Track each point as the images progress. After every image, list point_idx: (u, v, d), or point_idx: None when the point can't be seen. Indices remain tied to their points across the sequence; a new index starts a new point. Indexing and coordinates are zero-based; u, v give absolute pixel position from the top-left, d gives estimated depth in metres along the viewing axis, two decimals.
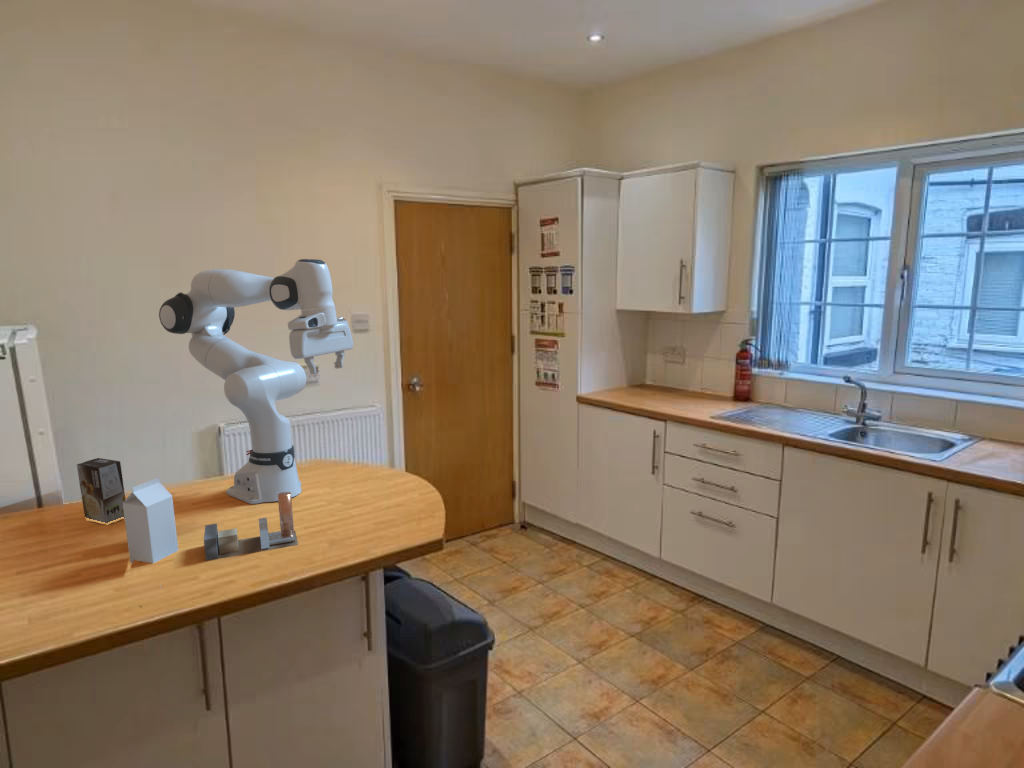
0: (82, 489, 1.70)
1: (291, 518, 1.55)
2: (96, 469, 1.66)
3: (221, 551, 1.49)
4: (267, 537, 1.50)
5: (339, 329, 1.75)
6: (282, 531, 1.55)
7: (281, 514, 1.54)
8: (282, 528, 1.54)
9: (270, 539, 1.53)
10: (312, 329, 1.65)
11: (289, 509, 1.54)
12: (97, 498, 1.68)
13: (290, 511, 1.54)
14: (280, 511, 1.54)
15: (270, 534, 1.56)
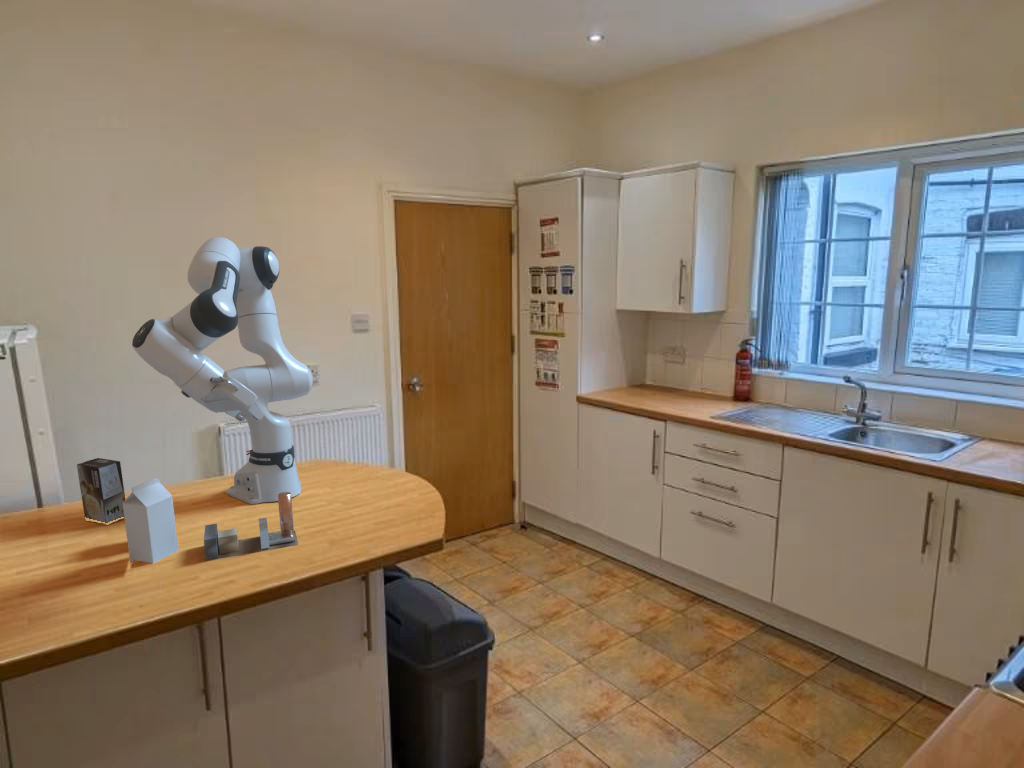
0: (82, 489, 1.70)
1: (291, 518, 1.55)
2: (96, 469, 1.66)
3: (221, 551, 1.49)
4: (267, 537, 1.50)
5: (218, 394, 1.39)
6: (282, 531, 1.55)
7: (281, 514, 1.54)
8: (282, 528, 1.54)
9: (270, 539, 1.53)
10: None
11: (289, 509, 1.54)
12: (97, 498, 1.68)
13: (290, 511, 1.54)
14: (280, 511, 1.54)
15: (270, 534, 1.56)
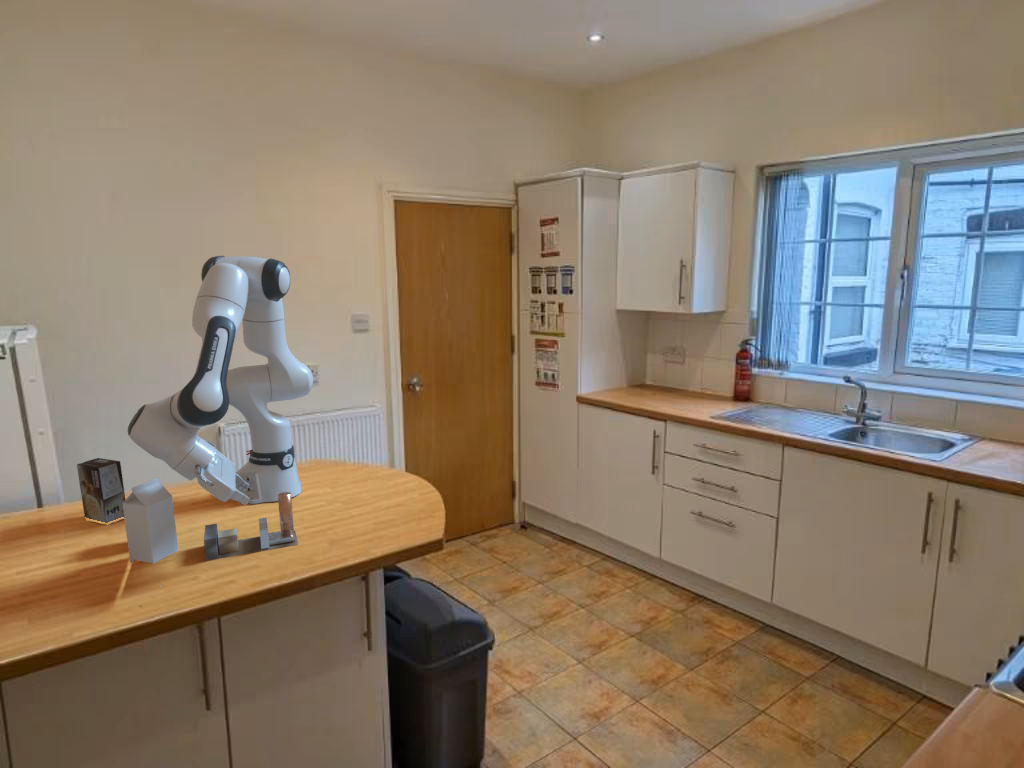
0: (82, 489, 1.70)
1: (291, 518, 1.55)
2: (96, 469, 1.66)
3: (221, 551, 1.49)
4: (267, 537, 1.50)
5: None
6: (282, 531, 1.55)
7: (281, 514, 1.54)
8: (282, 528, 1.54)
9: (270, 539, 1.53)
10: None
11: (289, 509, 1.54)
12: (97, 498, 1.68)
13: (290, 511, 1.54)
14: (280, 511, 1.54)
15: (270, 534, 1.56)
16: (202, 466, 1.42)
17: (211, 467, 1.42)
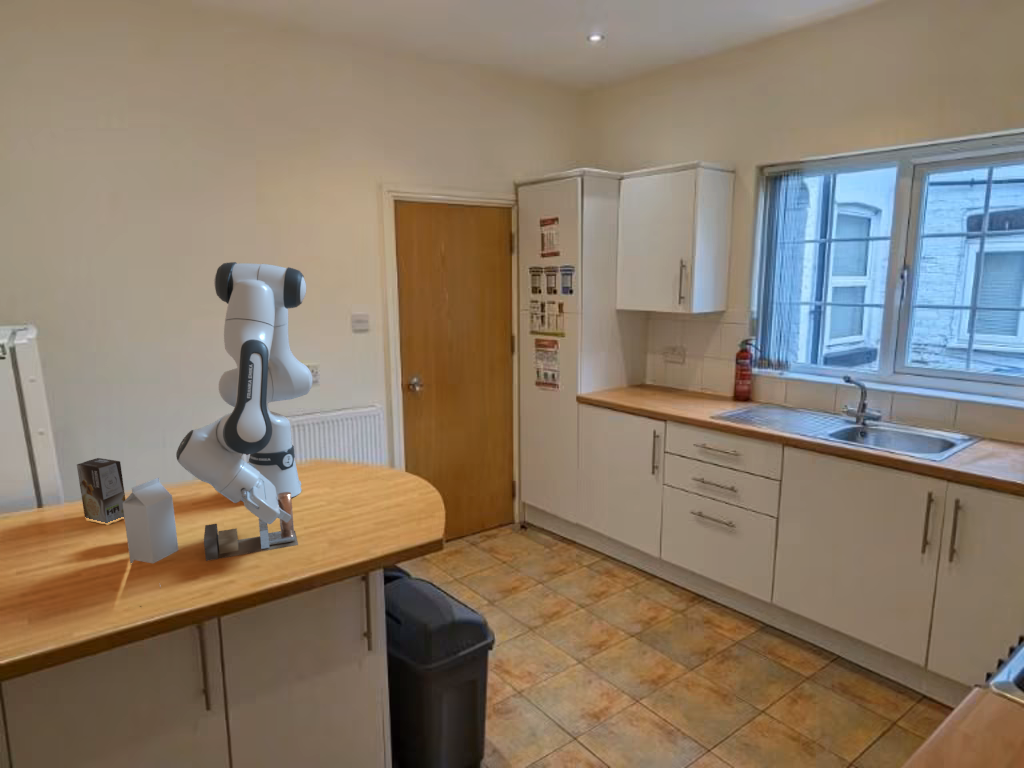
0: (82, 489, 1.70)
1: (291, 518, 1.55)
2: (96, 469, 1.66)
3: (221, 551, 1.49)
4: (267, 537, 1.50)
5: None
6: (282, 531, 1.55)
7: None
8: (282, 528, 1.54)
9: (270, 539, 1.53)
10: None
11: (289, 509, 1.54)
12: (97, 498, 1.68)
13: (290, 511, 1.54)
14: None
15: (270, 534, 1.56)
16: (247, 489, 1.46)
17: (256, 490, 1.46)
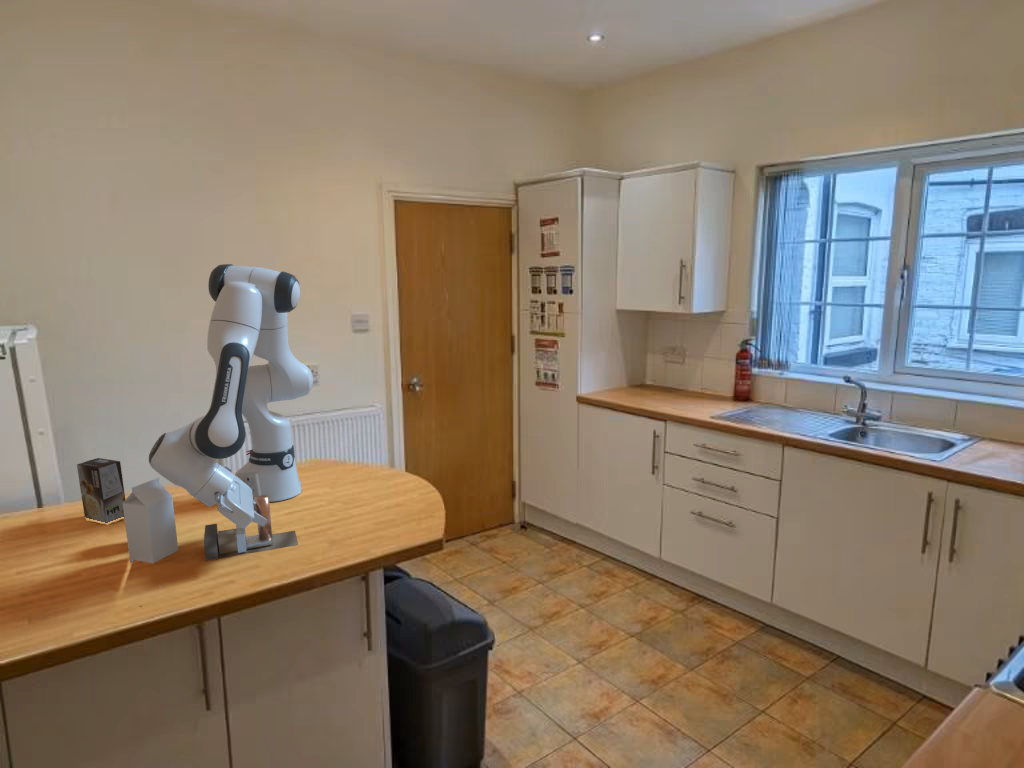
0: (82, 489, 1.70)
1: (269, 521, 1.53)
2: (96, 469, 1.66)
3: (221, 551, 1.49)
4: (244, 541, 1.48)
5: None
6: (259, 535, 1.53)
7: None
8: (260, 532, 1.52)
9: (247, 543, 1.51)
10: None
11: (267, 513, 1.52)
12: (97, 498, 1.68)
13: (268, 514, 1.52)
14: None
15: (248, 538, 1.54)
16: (221, 493, 1.44)
17: (230, 494, 1.44)
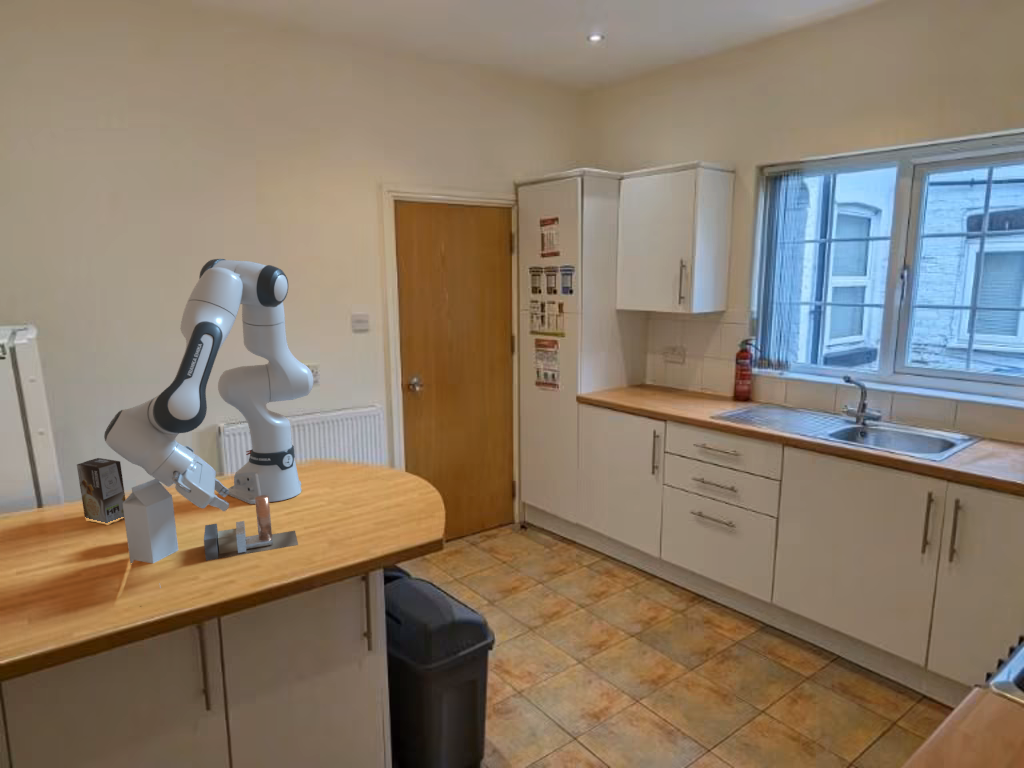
0: (82, 489, 1.70)
1: (269, 521, 1.53)
2: (96, 469, 1.66)
3: (221, 551, 1.49)
4: (244, 541, 1.48)
5: None
6: (259, 535, 1.53)
7: (258, 517, 1.52)
8: (260, 532, 1.52)
9: (247, 543, 1.51)
10: None
11: (266, 513, 1.52)
12: (97, 498, 1.68)
13: (268, 514, 1.52)
14: (257, 514, 1.52)
15: (247, 538, 1.54)
16: (180, 472, 1.40)
17: (189, 473, 1.40)
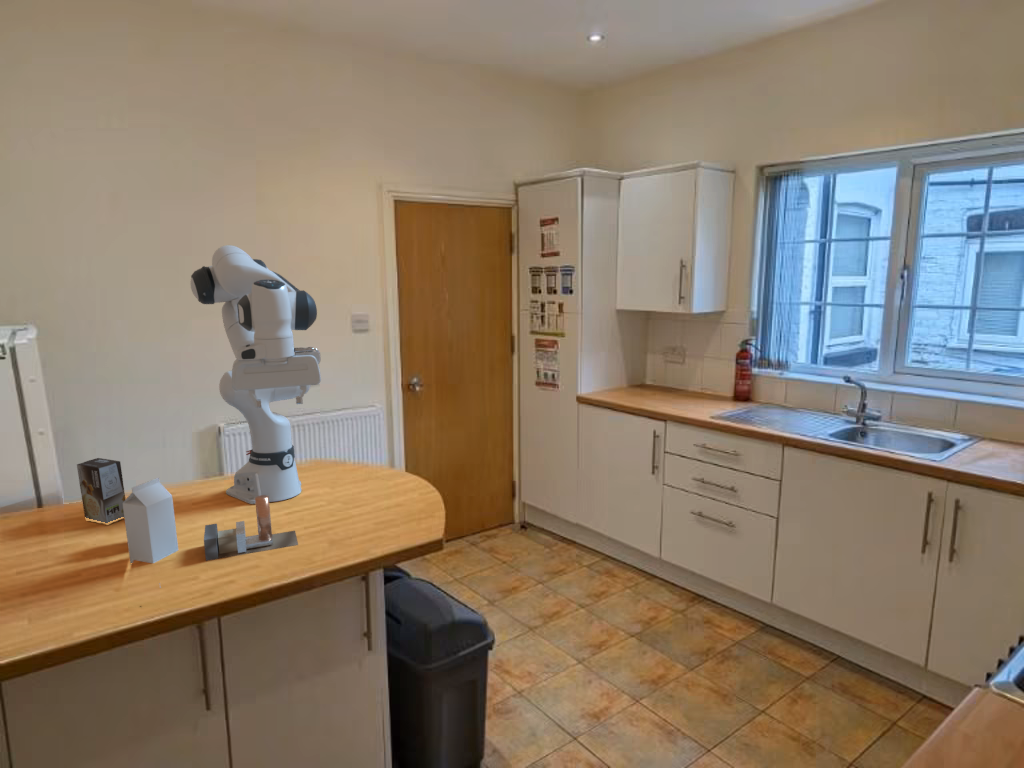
0: (82, 489, 1.70)
1: (269, 521, 1.53)
2: (96, 469, 1.66)
3: (221, 551, 1.49)
4: (244, 541, 1.48)
5: (297, 361, 1.54)
6: (259, 535, 1.53)
7: (258, 517, 1.52)
8: (260, 532, 1.52)
9: (247, 543, 1.51)
10: (249, 361, 1.49)
11: (266, 513, 1.52)
12: (97, 498, 1.68)
13: (268, 514, 1.52)
14: (257, 514, 1.52)
15: (247, 538, 1.54)
16: None
17: None
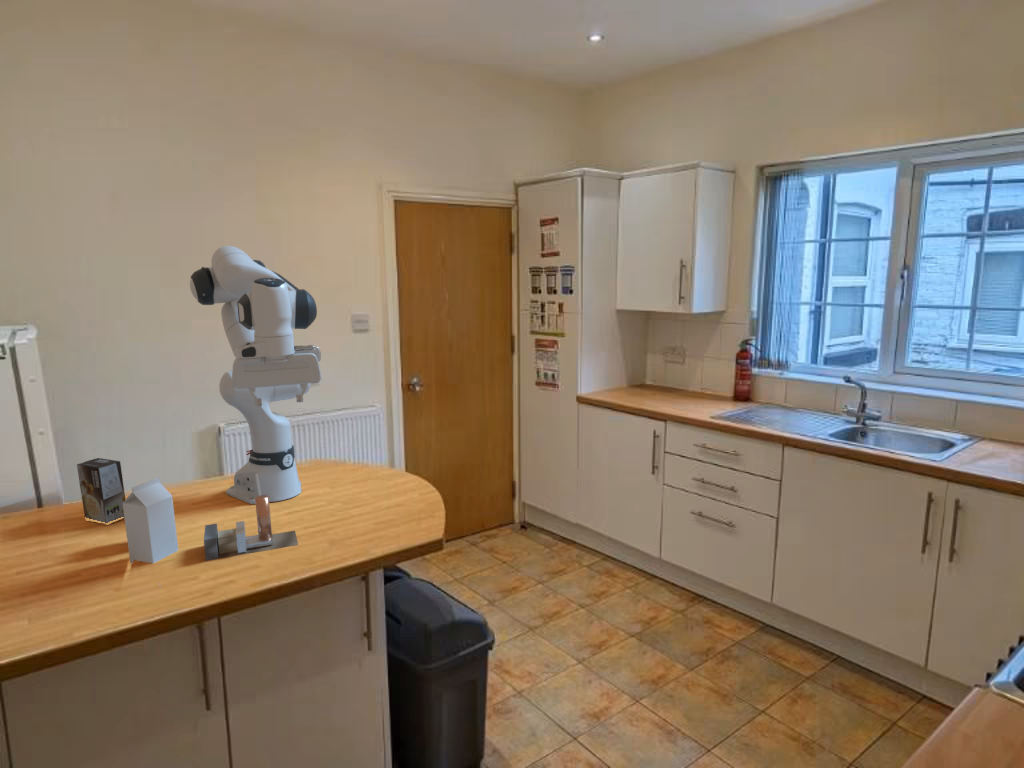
0: (82, 489, 1.70)
1: (269, 521, 1.53)
2: (96, 469, 1.66)
3: (221, 551, 1.49)
4: (244, 541, 1.48)
5: (298, 359, 1.54)
6: (259, 535, 1.53)
7: (258, 517, 1.52)
8: (260, 532, 1.52)
9: (247, 543, 1.51)
10: (249, 359, 1.49)
11: (266, 513, 1.52)
12: (97, 498, 1.68)
13: (268, 514, 1.52)
14: (257, 514, 1.52)
15: (247, 538, 1.54)
16: None
17: None
